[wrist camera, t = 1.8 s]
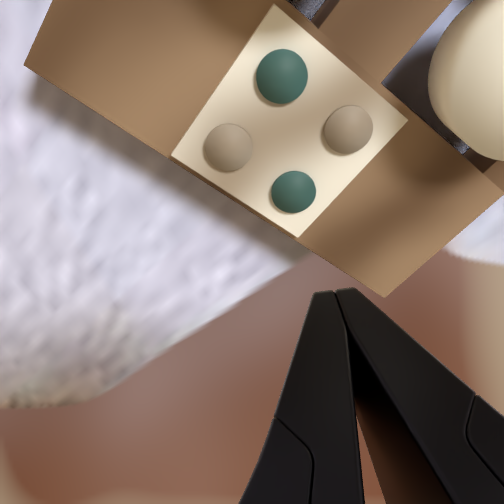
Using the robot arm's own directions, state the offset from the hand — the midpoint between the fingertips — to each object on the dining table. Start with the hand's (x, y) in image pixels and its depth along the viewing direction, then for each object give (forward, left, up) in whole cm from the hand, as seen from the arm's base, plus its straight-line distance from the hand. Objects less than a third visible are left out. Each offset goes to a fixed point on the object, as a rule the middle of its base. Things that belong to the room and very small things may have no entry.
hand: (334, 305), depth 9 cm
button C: (-4, -6, -10) cm, 13 cm away
